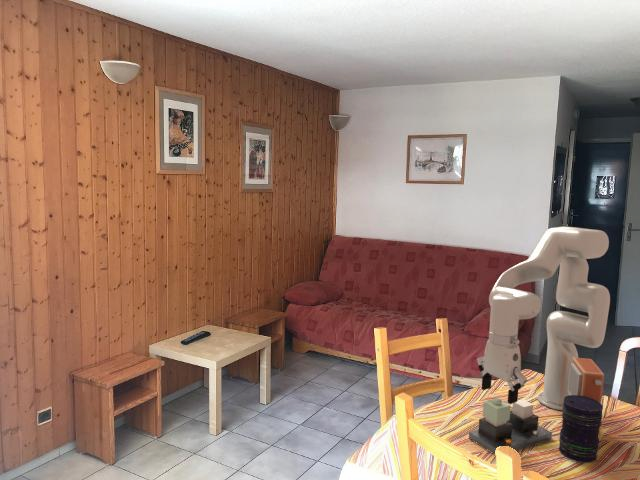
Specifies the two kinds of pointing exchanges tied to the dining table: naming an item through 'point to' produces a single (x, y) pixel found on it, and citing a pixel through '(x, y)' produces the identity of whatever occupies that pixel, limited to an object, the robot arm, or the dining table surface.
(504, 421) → the tagged breaker button
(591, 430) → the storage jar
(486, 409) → the cap
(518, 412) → the breaker button
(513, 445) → the breaker board
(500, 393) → the dining table surface
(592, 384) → the orange fan heater
